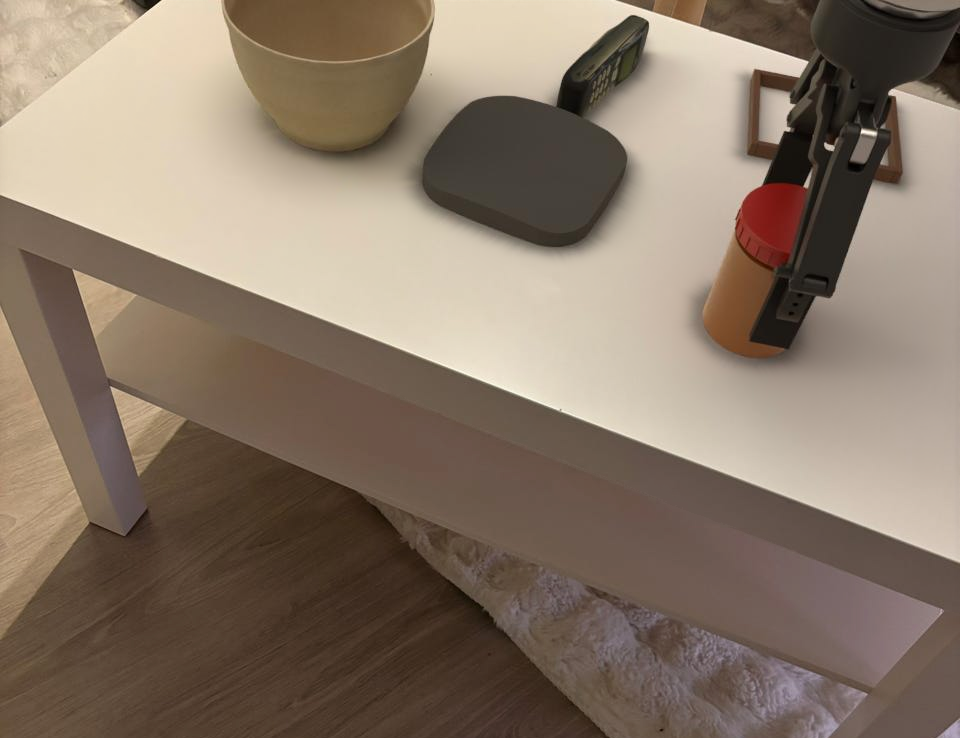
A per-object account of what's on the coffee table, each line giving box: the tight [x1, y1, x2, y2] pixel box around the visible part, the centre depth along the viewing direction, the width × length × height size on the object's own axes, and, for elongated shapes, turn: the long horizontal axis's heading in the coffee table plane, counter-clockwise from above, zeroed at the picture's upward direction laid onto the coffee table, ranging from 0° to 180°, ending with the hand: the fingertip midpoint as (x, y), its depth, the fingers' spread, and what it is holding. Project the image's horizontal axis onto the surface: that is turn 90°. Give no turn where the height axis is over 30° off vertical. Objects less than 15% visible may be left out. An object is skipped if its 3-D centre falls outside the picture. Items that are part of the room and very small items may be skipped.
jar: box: [701, 229, 786, 359], centre depth 74 cm, size 7×7×10 cm
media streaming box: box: [421, 95, 628, 248], centre depth 84 cm, size 15×15×3 cm
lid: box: [734, 183, 808, 268], centre depth 69 cm, size 7×7×2 cm
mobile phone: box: [555, 14, 650, 119], centre depth 91 cm, size 5×3×15 cm
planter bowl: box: [221, 0, 436, 153], centre depth 82 cm, size 16×16×11 cm
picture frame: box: [746, 68, 904, 185], centre depth 91 cm, size 13×11×2 cm
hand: (770, 273), depth 73 cm, fingers open, 13 cm apart
